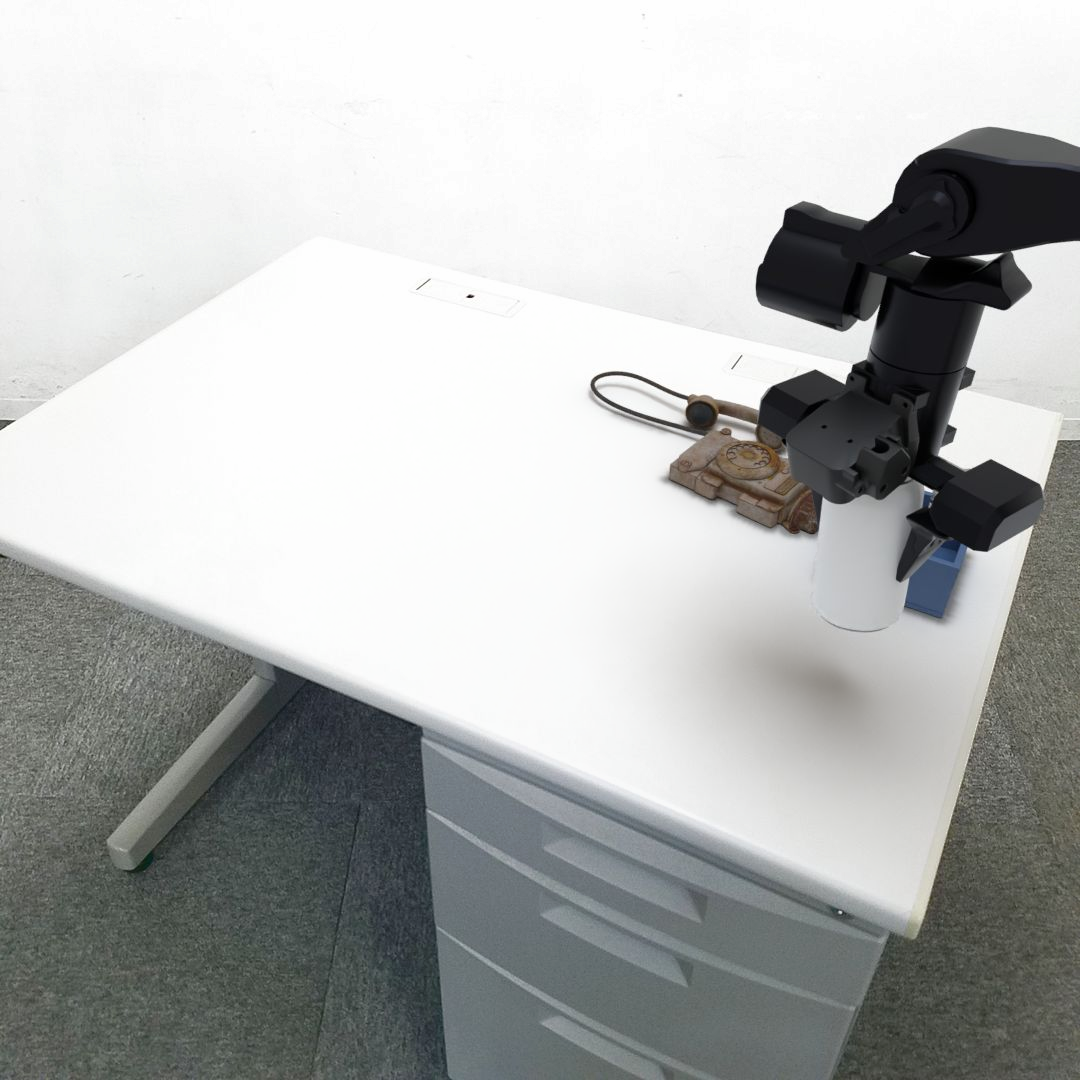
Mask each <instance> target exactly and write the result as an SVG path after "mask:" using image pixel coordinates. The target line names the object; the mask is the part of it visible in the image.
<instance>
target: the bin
mask: <svg viewBox="0 0 1080 1080" xmlns="http://www.w3.org/2000/svg"><path fill="white" fill-rule="evenodd" d="M931 495H932V491H927V490H925V489H924V499H923V505H922V508H923V507H924V506H926V505H928V504H929V503H930V501H931V500H932V499H930V498H931ZM968 549H969V548H968V547H966V546H965V545H963V544H961V543H960V542H958V541H956V540H951V541H945V542H944V543H943V544H942V545H941V546H940V547H939V548H938V549H937V550H936V551H935V552H934V553H933V554H932V555H931V556H930V557H929V558H928V559H927V560H926V561H925V562H924V563H923V564H922V565H921V566H920V567H919V568H918V569H917V570H916V571H915V573H914V574H913V575H912V576H911V577H910V578H909V583H908V588H907V594H906V599H905V604H904V607H907V608H910V609H913V610H915V611H918V612H921V613H924V614H927V615H929V616H934V617H937V618H940V619H943V617H944V613H945V611H946V608H947V606H948V603H949V600H950V597H951V595H952V592H953V589H954V586H955V583H956V581H957V578H958V575H959V573H960V571H961V567H962V565H963V562H964V559H965V555H966V553H967V550H968Z"/></svg>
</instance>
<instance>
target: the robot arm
mask: <svg viewBox="0 0 1080 1080" xmlns="http://www.w3.org/2000/svg"><path fill="white" fill-rule="evenodd" d="M783 214H784V215H783V220H782V226H781V227H780V228H779V229H778V230H777V232H776V234H775V235H774V236H773V238H772V240H771V242H770V243H769V245H768V248H767V250H766V252H765V255H764V257H763V259H762V263H760V264H759V265H758V266H757V270H756V276H755V287H754V288H755V297H756V298H757V299H756V300H757V302H758V304H759V305H760V306H761V307H765V308H767V309H770V310H773V311H776V312H780V313H783V314H786V315H788V316H791V317H795V318H798V319H800V320H804V321H807V322H811V323H813V324H816V325H819V326H823V327H824V328H828V329H832V330H835V331H837V332H841V333H843V332H847V331H848V330H850V329H851V328H852V327H853V326H854V325H856V323H857V322H858V321H861V322H867V321H869V320H870V319H871V318H872V317H873V316H874V315H875V313H876V311H877V310H878V311H877V315H876V319H875V323H874V328H873V331H872V335H871V339H870V343H869V347H868V352H867V356H866V359H864V360H861V361H859V362H855V363H853V364H852V365H851V370H850V372H849V373H848V374H847V375H846V380H845V383H843V382H841V381H839V380H837V379H835V378H834V377H832V376H830V375H828V374H826V373H824V372H822V371H821V370H818V369H816V368H815V369H813V370H810V371H808V372H807V371H806V372H805V373H802V374H799V375H797V376H794V377H791V378H789V379H787V380H784V381H781V382H778V383H776V384H772V385H771V386H770V387H768V388H766V390H765V392H764V393H763V395H762V396H761V397H760V400H759V407H758V410H759V411H758V417H757V423H758V424H759V425H761V426H763V427H764V428H766V429H768V430H769V431H771V432H773V433H774V434H776V435H778V436H780V437H781V438H782V440H781V442H782V445H783V446H784V447H783V448H785V449H786V452H787V459H788V461H789V470H790V475H791V477H792V478H793V479H794V480H795V481H797V482H798V483H803V484H805V485H807V486H808V487H810V488H811V490H812V491H811V492H812V498H813V503H814V509H815V514H816V519H817V525H818V530H819V525H820V517H821V508H822V500H823V497H824V499H826V500H827V501H829V502H831V503H834V504H846V503H849V502H851V501H852V500H854V499H855V498H858V497H860V496H862V495H869V496H871V497H873V498H874V499H876V500H883V499H884V498H886V497H887V496H888V495H889V494H890V493H891V492H893V491H894V490H895V489H896V488H897V487H899V486H900V485H901V484H902V483H903V482H904V481H905V480H906V479H907V477H909V478H911V479H913V480H915V481H917V482H918V483H920V484H922V485H924V487H926V488H928V489H929V490H931V493H932V495H931V498H930V499H932V500H931V501H930V503H929V504H928V505H926V506H924V507H923V508H921V509H919V510H917V511H915V512H913V513H911V514H909V515H907V516H906V519H907V521H908V522H909V524H910V525H911V527H912V528H911V531H910V534H909V537H908V539H907V542H906V545H905V548H904V550H903V553H902V556H901V559H900V561H899V564H898V568H897V574H896V580H897V581H898V582H900V583H901V582H903V581H905V580H907V579H908V578H910V577H911V576H912V575H913V574H914V573H915V571H916V570H917V569H918V568H919V567H920V566H921V565H922V564H923V563H924V562H925V561H926V560H927V559H928V558H929V557H930V556H931V555H932V554H933V553H934V552H935V551H936V550H937V549H938V548H939V547H940V546H941V545H942V544H943V543H944V542H945V541H951V540H956V541H958V542H960V543H961V544H963V545H965V546H966V547H968V548H967V549H970V550H972V551H973V552H974V551H975V552H983V553H988V552H990V551H992V550H994V549H995V548H997V547H999V546H1000V545H1001V544H1004V543H1005V542H1007V541H1009V540H1010V539H1013V538H1014V537H1016V536H1017V535H1019V534H1021V533H1022V532H1024V531H1026V530H1028V529H1029V528H1031V527H1033V526H1035V525H1036V524H1037V523H1038V521H1039V518H1040V516H1041V513H1042V511H1043V509H1044V506H1045V504H1046V497H1045V493H1044V490H1043V488H1042V485H1041V484H1040V483H1039V482H1037V481H1035V480H1033V479H1031V478H1029V477H1027V476H1025V475H1023V474H1022V473H1019V472H1018V471H1016V470H1014V469H1012V468H1009V467H1008V466H1005V465H1004V464H1002V463H1000V462H998V461H996V460H994V459H992V458H990V459H987V460H986V461H983V462H982V463H980V464H977V465H976V466H974V467H972V468H962V467H960V466H958V465H957V464H954V463H953V462H951V461H949V460H947V459H945V458H944V457H941V456H940V455H939V454H940V451H941V448H944V447H946V446H947V445H950V444H952V443H954V440H955V437H956V433H957V430H958V428H957V427H955V426H953V425H951V424H949V423H950V422H949V421H950V419H951V415H952V412H953V410H954V407H955V403H956V400H957V396H958V394H959V392H960V391H961V390H962V391H963V390H964V389H967V388H968V387H971V386H972V384H973V381H974V378H975V375H976V370H975V369H972V368H971V367H968V366H967V365H968V361H969V358H970V355H971V352H972V349H973V346H974V342H975V339H976V336H977V333H978V330H979V326H980V323H981V321H982V317H983V315H984V312H985V307H987V308H988V307H989V308H992V309H996V310H998V311H1002V312H1003V311H1004V312H1005V311H1008V310H1010V309H1011V308H1012V307H1013V306H1015V304H1017V303H1018V302H1019V301H1020V300H1022V299H1023V298H1024V297H1025V296H1026V295H1027V294H1029V293H1030V292H1031V291H1032V289H1033V284H1032V282H1031V281H1030V279H1029V278H1028V277H1027V275H1026V274H1025V272H1023V271H1022V269H1021V268H1020V267H1019V266H1018V264H1017V262H1016V260H1015V256H1014V253H1013V252H1016V251H1021V250H1025V249H1030V248H1036V247H1039V246H1044V245H1052V244H1058V243H1059V244H1060V243H1061V244H1062V243H1070V242H1071V243H1072V242H1080V146H1077V145H1074V144H1072V143H1069V142H1067V141H1063V140H1062V139H1058V138H1055V137H1052V136H1047V135H1044V134H1043V135H1042V134H1038V133H1037V134H1036V133H1033V132H1032V133H1031V132H1026V131H1021V130H1014V129H1009V128H1003V127H999V126H998V127H997V126H984V127H978V128H972V129H970V130H968V131H965V132H963V133H961V134H959V135H957V136H955V137H953V138H951V139H949V140H947V141H944V142H943V143H941V144H939V145H937V146H935V147H933V148H930V149H928V150H926V151H925V152H923V153H920V154H918V155H917V156H916V157H914V159H913V160H912V161H910V163H909V164H908V165H907V166H906V167H904V169H903V170H902V172H901V173H900V175H899V178H898V179H897V181H896V183H895V186H894V189H893V195H892V200H891V202H890V203H889V204H888V205H887V206H886V207H885V208H884V209H882V210H881V211H880V212H879V213H878V214H877V215H876V216H874V217H873V218H871V219H869V220H865V219H862V218H859V217H854V216H851V215H846V214H842V213H839V212H835V211H832V210H829V209H827V208H825V207H823V206H822V205H820V204H818V203H813V202H809V201H805V200H802V201H799V202H797V203H795V204H794V205H792V206H788V207H787V208H786V209H785V210H784V213H783ZM913 253H916V254H919V255H915V254H913ZM999 254H1000V255H999ZM989 255H990V256H991V255H999V256H997V257H995V258H993V259H990V260H985V259H980V258H977V257H978V256H979V257H980V256H989Z"/></svg>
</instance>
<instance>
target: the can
mask: <svg viewBox="0 0 1080 1080" xmlns="http://www.w3.org/2000/svg"><path fill="white" fill-rule="evenodd" d="M924 490H925V486H924V485H922V484H920V483H918V482H917V481H915V480H913V479H911V478H909V477H907V479H906V480H905V481H904V482H903V483H902V484H901V485H900V486H899V487H897V488H896V489H895V490H894V491H893V492H891V493H890V494H889V495H888V496H887V497H886V498H884V499H883V500H876V499H874V498H873V497H871V496H869V495H862V496H860V497H858V498H855V499H854V500H852V501H851V502H849V503H846V504H834V503H831V502H829V501H827V500H826V499H824V497H823V500H822V508H821V517H820V525H819V529H818V535H817V542H816V552H815V560H814V568H813V569H814V570H813V579H812V587H811V588H812V589H811V605H812V608H813V609H814V610H815V612H816V613H817V614H818V615H819V616H820V618H822V619H823V620H824V622H827V623H828V624H829V625H831V626H833V627H835V628H836V629H840V630H843V631H847V632H855V633H875V632H879V631H883V630H886V629H888V628H890V627H891V626H892V625H894V624H896V623H897V622H898V621H899V620H900V619H901V617H902V615H903V613H904V608H905V606H904V604H905V599H906V594H907V588H908V583H909V578H908V579H907V580H905V581H903V582H901V583H900V582H898V581H897V580H896V574H897V568H898V564H899V561H900V559H901V556H902V553H903V550H904V548H905V545H906V542H907V539H908V537H909V534H910V531H911V528H912V527H911V525H910V524H909V522H908V521H907V519H906V516H907V515H909V514H911V513H913V512H915V511H917V510H919V509H921V508H922V505H923V499H924Z"/></svg>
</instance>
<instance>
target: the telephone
mask: <svg viewBox="0 0 1080 1080" xmlns="http://www.w3.org/2000/svg"><path fill="white" fill-rule="evenodd" d="M612 376H613V377H614V376H619V377H628V378H631V379H635V380H638V381H641V382H643V383H646V384H648V385H649V386H652V387H654V388H656V389H658V390H659V391H662V392H664V393H666V394H668V395H671V396H673V397H676V398H678V399H681V400H685V401H686V403H687V406H686V408H685V409H684V410H685V411H684V415H685V419H686V421H687V422H688V423H689V424H690V425H691V426H692V427H690V426H686V425H683V424H680V423H675V422H672V421H668V420H665V419H661V418H659V417H655V416H651V415H648V414H645V413H642V412H639V411H636V410H633V409H630V408H628V407H625V406H623V405H620V404H619V403H617V402H614V401H613V400H611V399H609V398H607V397H605V396H604V395H603V394H602V393H601V392H600V391H598V389H597V388H596V382H597V381H598V380H600V379H603V378H607V377H612ZM589 386H590V389H591V391H592V393H593V395H595V396H596V397H597V398H598V399H599V400H601V401H602V402H603V403H605V404H607V405H609V406H610V407H612V408H614V409H617V410H619V411H621V412H623V413H626V414H628V415H631V416H633V417H637V418H639V419H643V420H646V421H649V422H653V423H656V424H658V425H662V426H666V427H669V428H673V429H676V430H681V431H684V432H688V433H691V434H695V435H699V436H701V438H700V439H699V440H697V441H696V442H694V443H693V444H692V445H690V447H688V448H687V449H686V450H684V451H683V452H682V453H681V454H679V456H678V457H677V458H676V459H675V460H674V461H672V462H671V463H670V464H669V473H668V479H669V480H670V481H672V482H675V483H677V484H679V485H681V486H684V487H686V488H688V489H690V490H692V491H694V493H696V494H698V495H700V496H702V497H705V498H707V499H709V500H711V501H712V500H715V499H716V498H717V497H718V498H721V499H723V500H725V501H728V502H730V503H732V504H734V505H735V506H737V507H736V513H737V514H739V515H741V516H743V517H746V518H748V519H750V520H752V521H754V522H756V523H759V524H761V525H763V526H765V527H767V528H769V529H772V528H773V527H775V526H776V525H777V524H781V525H782V526H783V527H784V528H785V529H786V530H787V532H789V533H792V534H798V533H800V531H801V530H802V531H804V532H807V533H809V534H815V533H817V532H818V531H819V529H818V525H817V519H816V514H815V509H814V503H813V498H812V492H811V491H812V490H811V488H810V487H808V486H807V485H805V484H803V483H798V482H797V481H795V480H794V479H793V478H792V477H791V475H790V470H789V461H788V457H783V456H780V455H778V453H777V452H778V451H780V450H782V449H783V448H785V447H784V446H783V445H782V442H781V440H782V438H781V437H780V436H778V435H776V434H774V433H773V432H771V431H769V430H768V429H766V428H764V427H763V426H761V425H759V424H758V423H757V417H758V411H759V409H756V408H753V407H750V406H747V405H745V404H744V405H743V404H741V403H740V404H739V403H735V402H733V401H727V400H723V399H717V398H714V397H713V396H710V395H708V394H701V395H697V394H694V393H691V394H689V395H686V394H682V393H680V392H677V391H676V390H675V391H674V390H672V389H670V388H667V387H665V386H663V385H661V384H659V383H657V382H655V381H653V380H652V379H649V378H647V377H644V376H642V375H639V374H636V373H633V372H628V371H619V370H615V371H614V370H612V371H611V370H610V371H605V372H602V373H598V374H596V375H594V376H593V378H592V379H591V380H590V385H589ZM719 415H722V416H726V417H730V418H733V419H737V420H740V421H743V422H747V423H750V424H753V425H755V426H756V427H755V430H754V434H755V439H756V440H757V441H754V440H740V439H738V438H735V437H733V436H732V433H733V431H732V429H731V428H728V427H723V428H721V429H720V430H716V429H715V430H712V431H711V432H708V431H704V429H705V430H706V429H709V428H712V427H713V426H715V424H717V421H718V418H719ZM694 427H695V428H694Z"/></svg>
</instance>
